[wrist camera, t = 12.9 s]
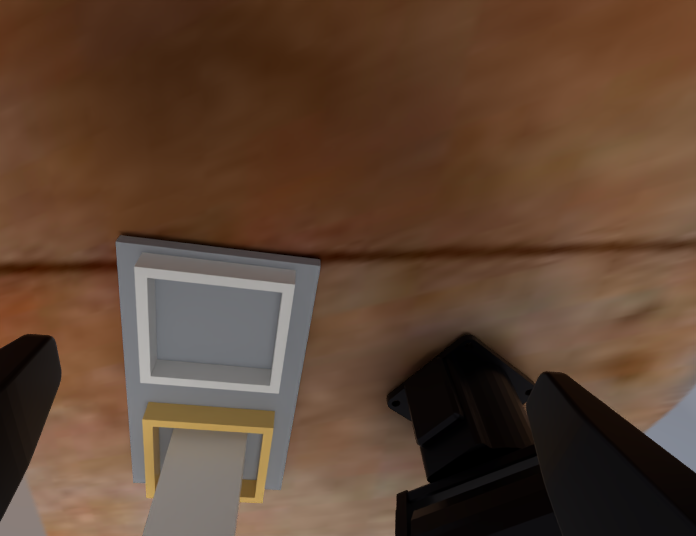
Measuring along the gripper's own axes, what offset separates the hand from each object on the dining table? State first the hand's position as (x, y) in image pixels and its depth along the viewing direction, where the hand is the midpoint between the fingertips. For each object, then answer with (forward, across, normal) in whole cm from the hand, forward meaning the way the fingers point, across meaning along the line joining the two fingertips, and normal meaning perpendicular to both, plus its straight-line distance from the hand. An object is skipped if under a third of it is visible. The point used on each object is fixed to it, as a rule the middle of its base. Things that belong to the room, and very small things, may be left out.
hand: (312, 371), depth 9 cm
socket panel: (+13, +4, +14) cm, 19 cm away
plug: (+12, +4, +18) cm, 23 cm away
